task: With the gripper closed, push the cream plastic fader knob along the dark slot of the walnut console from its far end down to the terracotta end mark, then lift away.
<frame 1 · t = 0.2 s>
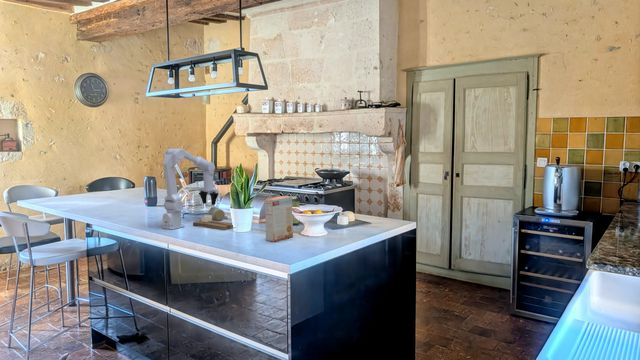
hand: (209, 204, 276), 10 cm above the countertop, tool pointing down, fingers open, 7 cm apart
cracker box: (279, 239, 227), on the countertop
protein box: (285, 224, 265), on the countertop
fader knob: (206, 218, 261), point 4 cm above the countertop, slide at 0.0 cm
fader console: (214, 226, 258), on the countertop
ceramic mug: (218, 220, 279), on the countertop
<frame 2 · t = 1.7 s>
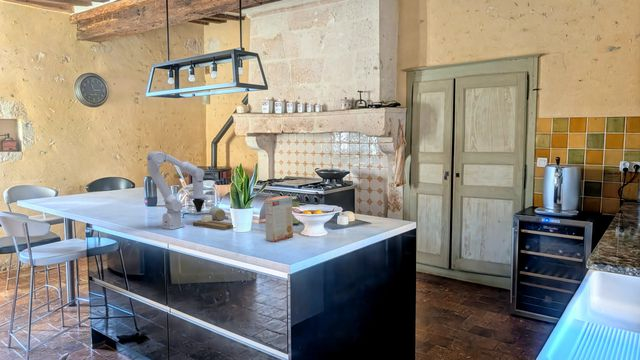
hand: (198, 211, 264), 7 cm above the countertop, tool pointing down, fingers closed
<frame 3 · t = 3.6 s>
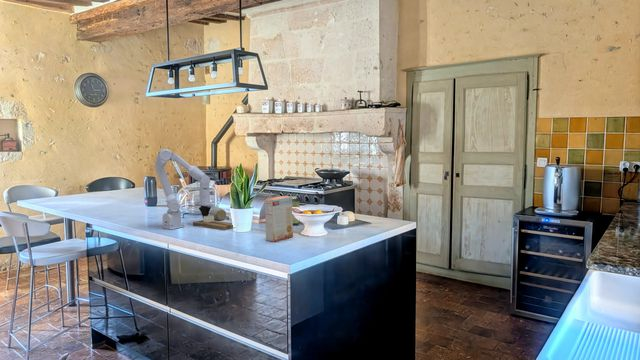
hand: (205, 219, 262), 3 cm above the countertop, tool pointing down, fingers closed
fader knob: (208, 218, 260), point 4 cm above the countertop, slide at 1.5 cm, touching gripper
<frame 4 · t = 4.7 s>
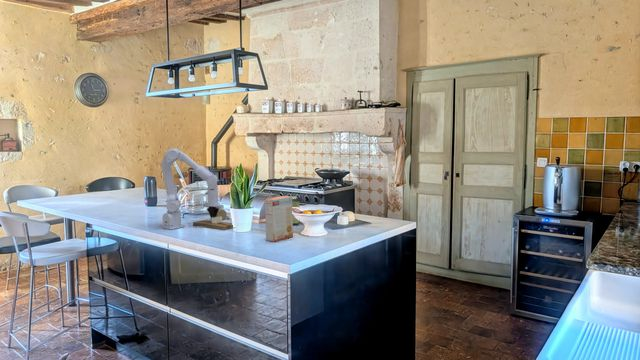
hand: (213, 220, 258), 3 cm above the countertop, tool pointing down, fingers closed
fader knob: (216, 219, 257), point 4 cm above the countertop, slide at 7.9 cm, touching gripper
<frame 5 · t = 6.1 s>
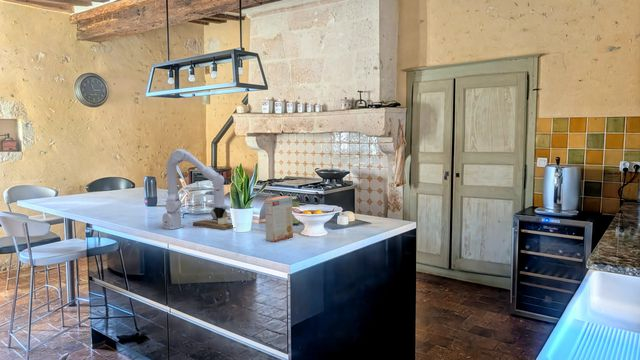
hand: (219, 221, 256), 3 cm above the countertop, tool pointing down, fingers closed
fader knob: (223, 220, 254), point 4 cm above the countertop, slide at 12.7 cm, touching gripper
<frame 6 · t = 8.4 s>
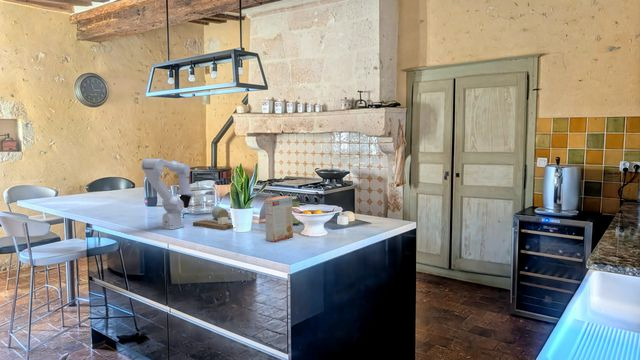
hand: (186, 207, 265), 9 cm above the countertop, tool pointing down, fingers closed
fader knob: (223, 220, 254), point 4 cm above the countertop, slide at 12.7 cm
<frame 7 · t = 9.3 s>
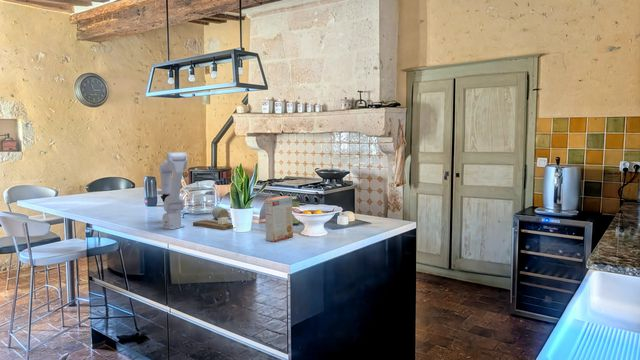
hand: (167, 207, 267), 9 cm above the countertop, tool pointing down, fingers closed
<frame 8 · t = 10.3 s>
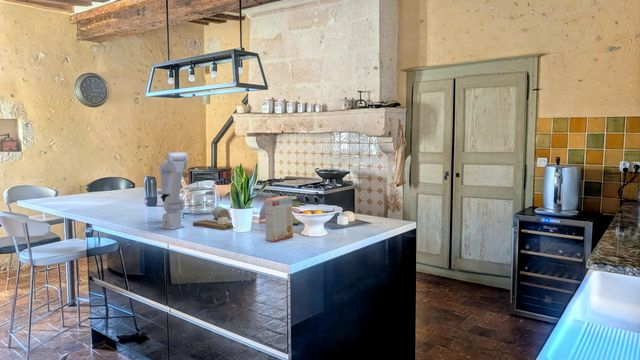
hand: (167, 207, 267), 9 cm above the countertop, tool pointing down, fingers closed
at the end: fader knob slide at 12.7 cm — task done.
